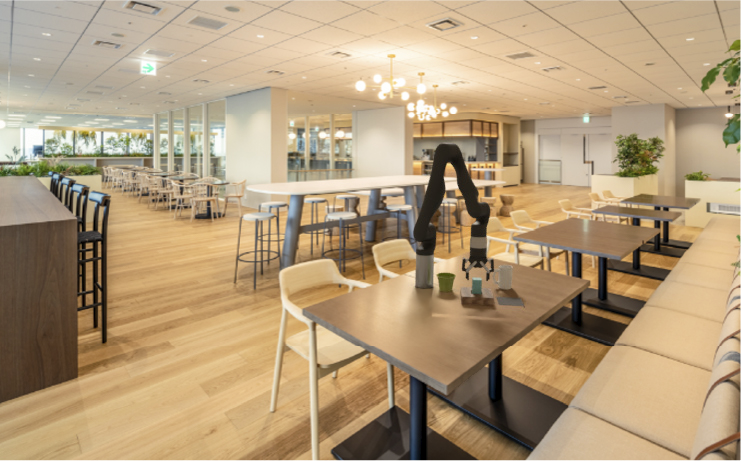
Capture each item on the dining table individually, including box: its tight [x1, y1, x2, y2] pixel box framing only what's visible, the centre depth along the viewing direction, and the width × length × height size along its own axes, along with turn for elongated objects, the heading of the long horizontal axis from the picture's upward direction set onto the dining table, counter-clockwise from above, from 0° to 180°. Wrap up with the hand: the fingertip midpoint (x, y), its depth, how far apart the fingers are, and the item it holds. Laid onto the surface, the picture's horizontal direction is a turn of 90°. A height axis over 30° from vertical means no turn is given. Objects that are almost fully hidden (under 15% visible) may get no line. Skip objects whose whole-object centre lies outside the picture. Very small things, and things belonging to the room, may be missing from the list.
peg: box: [471, 276, 483, 294], centre depth 186 cm, size 4×4×10 cm
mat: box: [495, 296, 525, 309], centre depth 184 cm, size 11×11×1 cm
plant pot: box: [436, 272, 456, 293], centre depth 200 cm, size 9×9×9 cm
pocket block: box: [459, 286, 495, 307], centre depth 186 cm, size 14×14×4 cm
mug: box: [492, 264, 514, 290], centre depth 202 cm, size 10×7×12 cm, turn 96°
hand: (477, 280), depth 185 cm, fingers open, 8 cm apart
